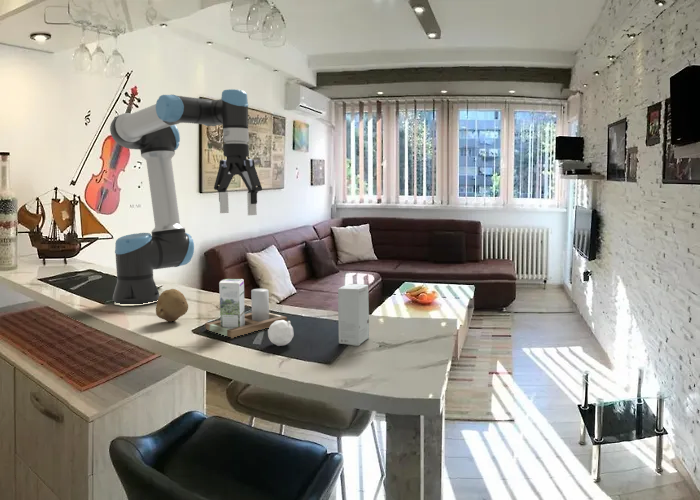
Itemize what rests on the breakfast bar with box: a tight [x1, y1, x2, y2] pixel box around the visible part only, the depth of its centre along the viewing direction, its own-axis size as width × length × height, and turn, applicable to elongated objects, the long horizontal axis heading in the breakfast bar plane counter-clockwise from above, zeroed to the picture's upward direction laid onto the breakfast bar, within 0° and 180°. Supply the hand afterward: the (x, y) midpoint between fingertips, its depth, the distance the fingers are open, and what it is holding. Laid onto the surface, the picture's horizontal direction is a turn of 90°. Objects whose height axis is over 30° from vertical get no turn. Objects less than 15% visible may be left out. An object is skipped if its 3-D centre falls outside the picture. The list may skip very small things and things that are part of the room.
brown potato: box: [155, 288, 189, 323], centre depth 164 cm, size 9×9×10 cm
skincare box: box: [337, 283, 370, 347], centre depth 145 cm, size 8×6×15 cm
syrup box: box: [218, 278, 246, 329], centre depth 154 cm, size 6×6×14 cm
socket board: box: [205, 312, 288, 339], centre depth 159 cm, size 12×20×2 cm, turn 139°
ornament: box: [267, 320, 295, 347], centre depth 142 cm, size 6×7×7 cm
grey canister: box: [250, 288, 270, 322], centre depth 162 cm, size 5×5×10 cm
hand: (237, 214), depth 168 cm, fingers open, 13 cm apart
